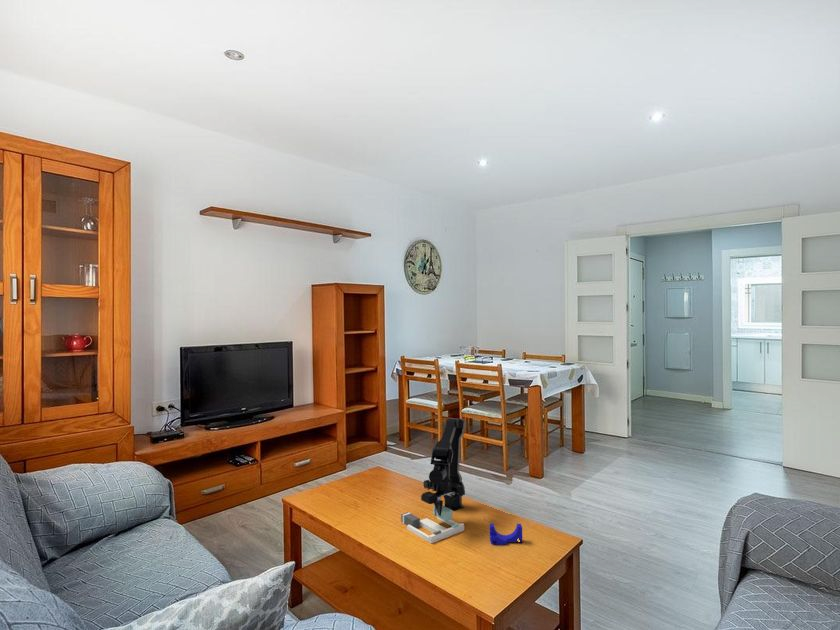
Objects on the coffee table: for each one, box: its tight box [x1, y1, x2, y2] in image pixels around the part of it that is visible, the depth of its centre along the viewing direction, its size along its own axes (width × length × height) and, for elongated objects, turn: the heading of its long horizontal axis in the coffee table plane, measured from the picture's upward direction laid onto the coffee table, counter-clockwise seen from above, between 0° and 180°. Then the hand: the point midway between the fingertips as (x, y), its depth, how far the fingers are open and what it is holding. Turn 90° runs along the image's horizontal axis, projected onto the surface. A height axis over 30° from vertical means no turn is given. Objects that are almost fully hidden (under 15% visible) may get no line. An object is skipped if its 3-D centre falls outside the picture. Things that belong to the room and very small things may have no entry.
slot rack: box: [406, 516, 465, 544], centre depth 190 cm, size 17×15×3 cm
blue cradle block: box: [489, 522, 523, 546], centre depth 180 cm, size 12×4×6 cm, turn 88°
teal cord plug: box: [432, 505, 453, 521], centre depth 194 cm, size 4×8×4 cm, turn 39°
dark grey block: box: [400, 511, 421, 529], centre depth 195 cm, size 4×8×4 cm, turn 38°
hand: (442, 514), depth 194 cm, fingers closed on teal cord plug, 3 cm apart
